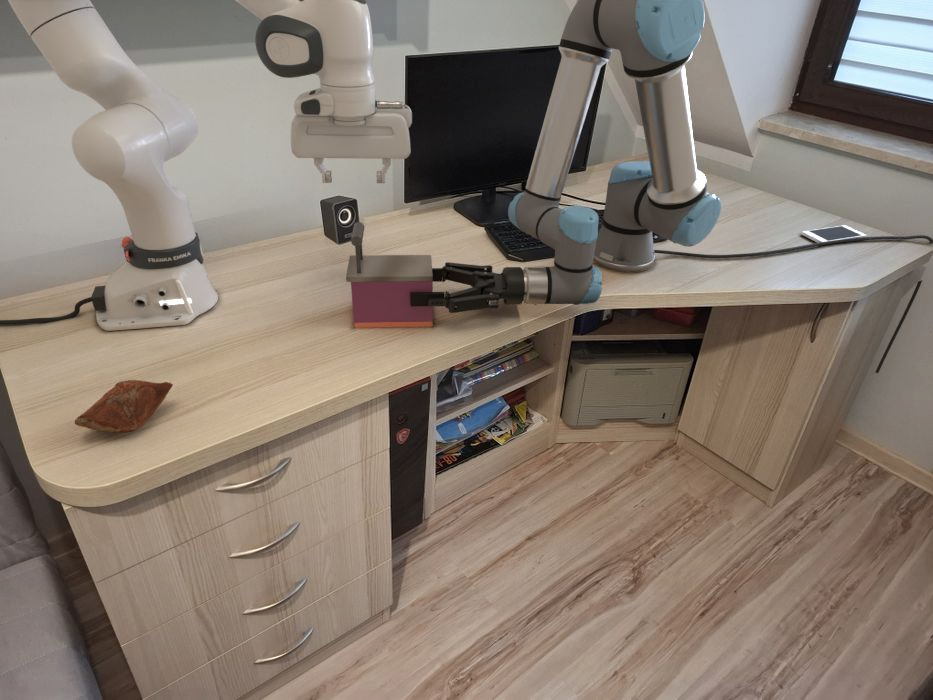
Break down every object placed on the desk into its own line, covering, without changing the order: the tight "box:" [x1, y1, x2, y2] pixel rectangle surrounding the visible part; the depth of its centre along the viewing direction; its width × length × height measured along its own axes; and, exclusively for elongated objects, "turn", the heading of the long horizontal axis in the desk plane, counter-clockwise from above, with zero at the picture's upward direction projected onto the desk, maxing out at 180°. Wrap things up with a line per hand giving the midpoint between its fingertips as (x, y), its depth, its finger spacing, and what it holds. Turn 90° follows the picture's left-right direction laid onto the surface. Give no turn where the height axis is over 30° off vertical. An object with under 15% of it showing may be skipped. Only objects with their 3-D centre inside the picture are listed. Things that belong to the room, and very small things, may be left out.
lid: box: [345, 221, 433, 283], centre depth 121 cm, size 16×9×9 cm, turn 94°
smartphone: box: [801, 224, 867, 243], centre depth 170 cm, size 7×16×1 cm, turn 111°
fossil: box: [74, 379, 174, 434], centre depth 97 cm, size 13×8×10 cm
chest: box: [350, 281, 434, 329], centre depth 126 cm, size 15×9×10 cm, turn 95°
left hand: (354, 182), depth 113 cm, fingers open, 8 cm apart
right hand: (410, 286), depth 126 cm, fingers open, 9 cm apart
